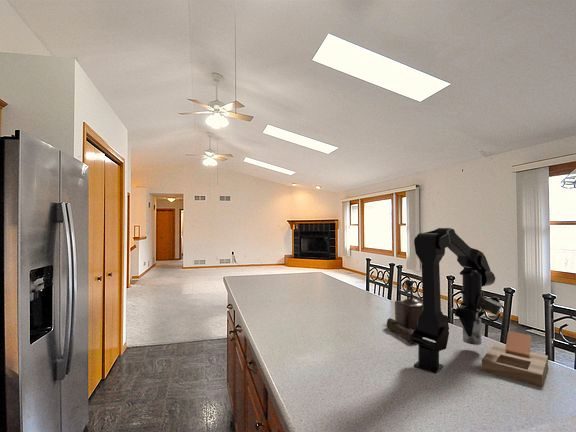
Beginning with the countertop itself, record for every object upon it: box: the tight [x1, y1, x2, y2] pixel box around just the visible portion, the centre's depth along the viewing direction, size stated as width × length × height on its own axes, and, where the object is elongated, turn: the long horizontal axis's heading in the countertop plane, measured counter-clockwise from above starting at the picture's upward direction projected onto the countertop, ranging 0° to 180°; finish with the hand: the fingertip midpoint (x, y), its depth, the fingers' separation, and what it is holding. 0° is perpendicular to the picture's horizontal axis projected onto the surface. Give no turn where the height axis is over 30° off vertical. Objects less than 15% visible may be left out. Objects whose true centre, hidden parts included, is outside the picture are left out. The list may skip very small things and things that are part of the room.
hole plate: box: [481, 343, 549, 387], centre depth 97 cm, size 18×14×3 cm
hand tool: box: [386, 317, 416, 345], centre depth 125 cm, size 19×4×5 cm, turn 11°
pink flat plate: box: [505, 330, 532, 357], centre depth 101 cm, size 7×6×1 cm
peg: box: [462, 317, 482, 346], centre depth 110 cm, size 6×6×8 cm
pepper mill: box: [394, 278, 423, 330], centre depth 141 cm, size 16×11×18 cm
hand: (471, 334), depth 110 cm, fingers closed on peg, 5 cm apart
